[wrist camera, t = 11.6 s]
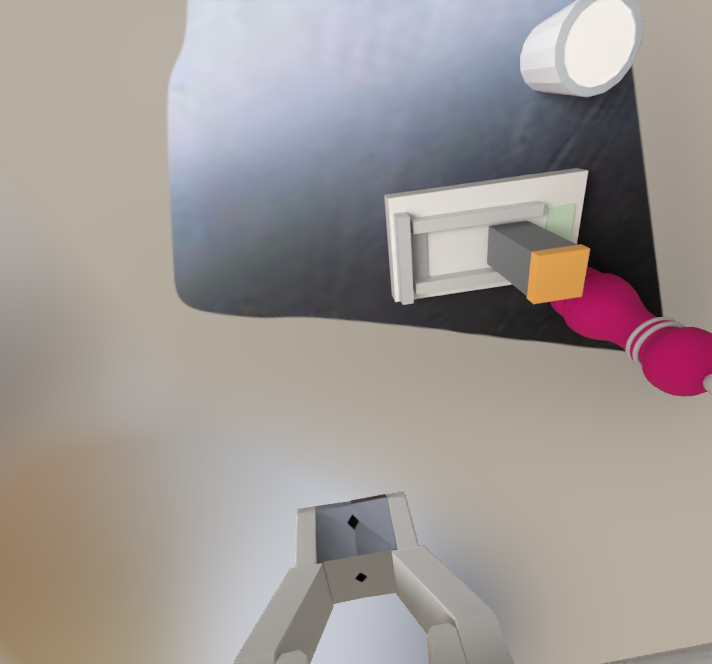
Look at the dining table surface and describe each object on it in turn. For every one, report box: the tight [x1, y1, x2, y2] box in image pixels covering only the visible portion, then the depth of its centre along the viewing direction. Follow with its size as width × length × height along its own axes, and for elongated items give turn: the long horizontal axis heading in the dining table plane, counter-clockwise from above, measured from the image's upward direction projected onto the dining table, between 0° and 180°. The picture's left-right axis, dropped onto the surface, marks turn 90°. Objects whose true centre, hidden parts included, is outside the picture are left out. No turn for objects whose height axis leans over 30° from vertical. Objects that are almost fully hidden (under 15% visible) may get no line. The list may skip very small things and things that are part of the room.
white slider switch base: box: [384, 168, 588, 305], centre depth 42 cm, size 11×20×4 cm, turn 96°
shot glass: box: [520, 0, 643, 97], centre depth 33 cm, size 7×7×7 cm
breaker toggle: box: [487, 221, 590, 304], centre depth 37 cm, size 4×4×10 cm
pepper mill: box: [550, 266, 712, 396], centre depth 39 cm, size 7×7×20 cm
